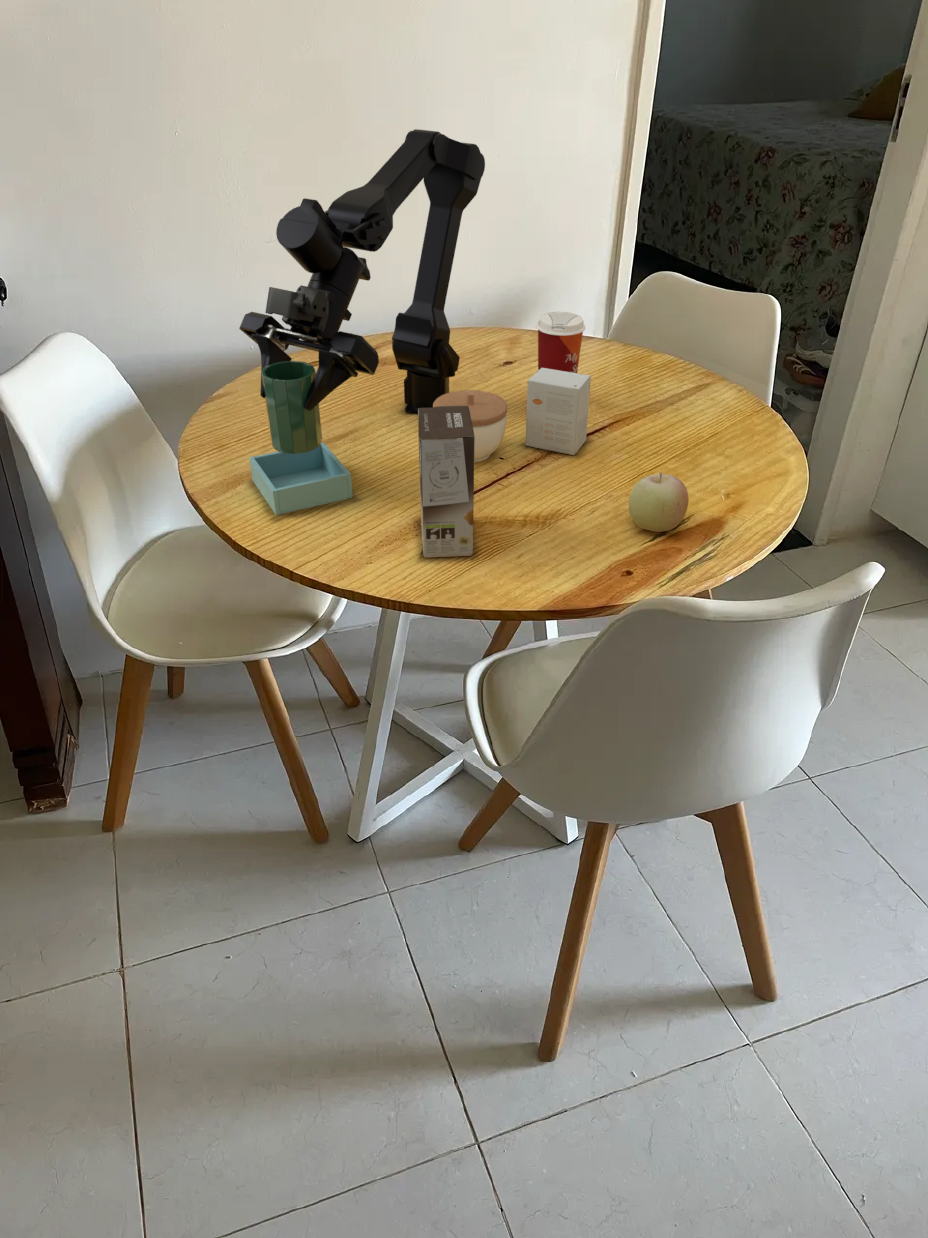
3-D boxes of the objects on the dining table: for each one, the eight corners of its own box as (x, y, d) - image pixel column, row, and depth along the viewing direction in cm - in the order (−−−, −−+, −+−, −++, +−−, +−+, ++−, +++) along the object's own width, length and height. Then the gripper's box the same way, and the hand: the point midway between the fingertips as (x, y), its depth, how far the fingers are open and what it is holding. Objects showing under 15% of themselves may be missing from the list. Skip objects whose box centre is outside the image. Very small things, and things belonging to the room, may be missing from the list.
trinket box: (418, 455, 136) (417, 395, 130) (465, 431, 142) (465, 373, 137) (474, 477, 130) (475, 415, 125) (520, 451, 137) (523, 391, 131)
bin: (325, 467, 133) (323, 441, 130) (353, 500, 125) (351, 473, 123) (252, 483, 129) (249, 457, 126) (276, 518, 121) (272, 491, 119)
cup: (328, 434, 124) (321, 362, 118) (311, 456, 119) (303, 382, 113) (282, 429, 126) (273, 358, 120) (264, 451, 120) (253, 378, 114)
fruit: (665, 547, 116) (674, 491, 111) (616, 527, 120) (622, 472, 115) (695, 523, 120) (705, 468, 116) (647, 505, 124) (654, 451, 119)
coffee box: (474, 556, 114) (476, 437, 104) (423, 558, 113) (419, 439, 104) (468, 519, 121) (469, 404, 111) (419, 520, 121) (416, 405, 111)
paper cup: (576, 414, 147) (583, 328, 139) (528, 410, 149) (533, 324, 140) (581, 395, 154) (588, 311, 145) (535, 391, 155) (540, 308, 146)
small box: (586, 441, 140) (592, 374, 133) (574, 456, 136) (580, 388, 129) (537, 431, 142) (541, 365, 136) (523, 446, 138) (527, 379, 132)
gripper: (238, 246, 115) (191, 360, 114) (359, 269, 108) (310, 391, 107) (285, 293, 125) (242, 398, 124) (399, 317, 118) (355, 428, 117)
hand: (284, 403), depth 118 cm, fingers closed on cup, 7 cm apart
